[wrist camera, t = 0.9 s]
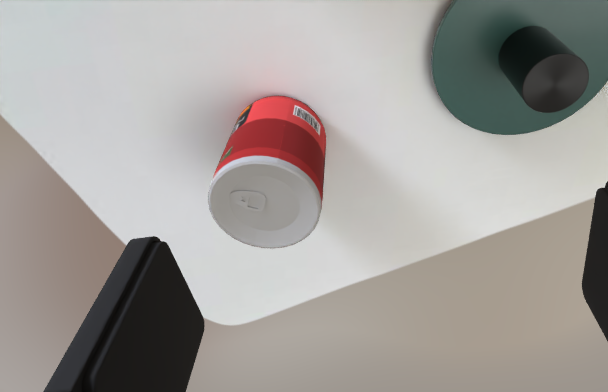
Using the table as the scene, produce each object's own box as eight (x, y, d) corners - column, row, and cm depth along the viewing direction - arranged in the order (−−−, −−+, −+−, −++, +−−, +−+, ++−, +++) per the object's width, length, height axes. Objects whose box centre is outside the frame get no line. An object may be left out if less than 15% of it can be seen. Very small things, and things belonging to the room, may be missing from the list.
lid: (420, -23, 34) (435, 2, 28) (631, -77, 31) (696, -62, 25) (439, 142, 41) (454, 189, 36) (611, 110, 39) (658, 155, 33)
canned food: (232, 90, 40) (200, 158, 31) (328, 93, 40) (322, 163, 31) (239, 168, 45) (212, 247, 36) (325, 172, 44) (320, 252, 35)
